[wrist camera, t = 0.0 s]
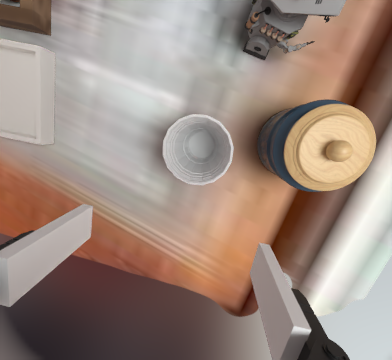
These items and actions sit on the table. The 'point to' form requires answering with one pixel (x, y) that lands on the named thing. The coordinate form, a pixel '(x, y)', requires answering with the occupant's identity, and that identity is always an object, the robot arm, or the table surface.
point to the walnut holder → (28, 16)
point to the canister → (317, 145)
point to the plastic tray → (27, 92)
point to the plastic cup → (197, 149)
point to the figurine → (283, 22)
